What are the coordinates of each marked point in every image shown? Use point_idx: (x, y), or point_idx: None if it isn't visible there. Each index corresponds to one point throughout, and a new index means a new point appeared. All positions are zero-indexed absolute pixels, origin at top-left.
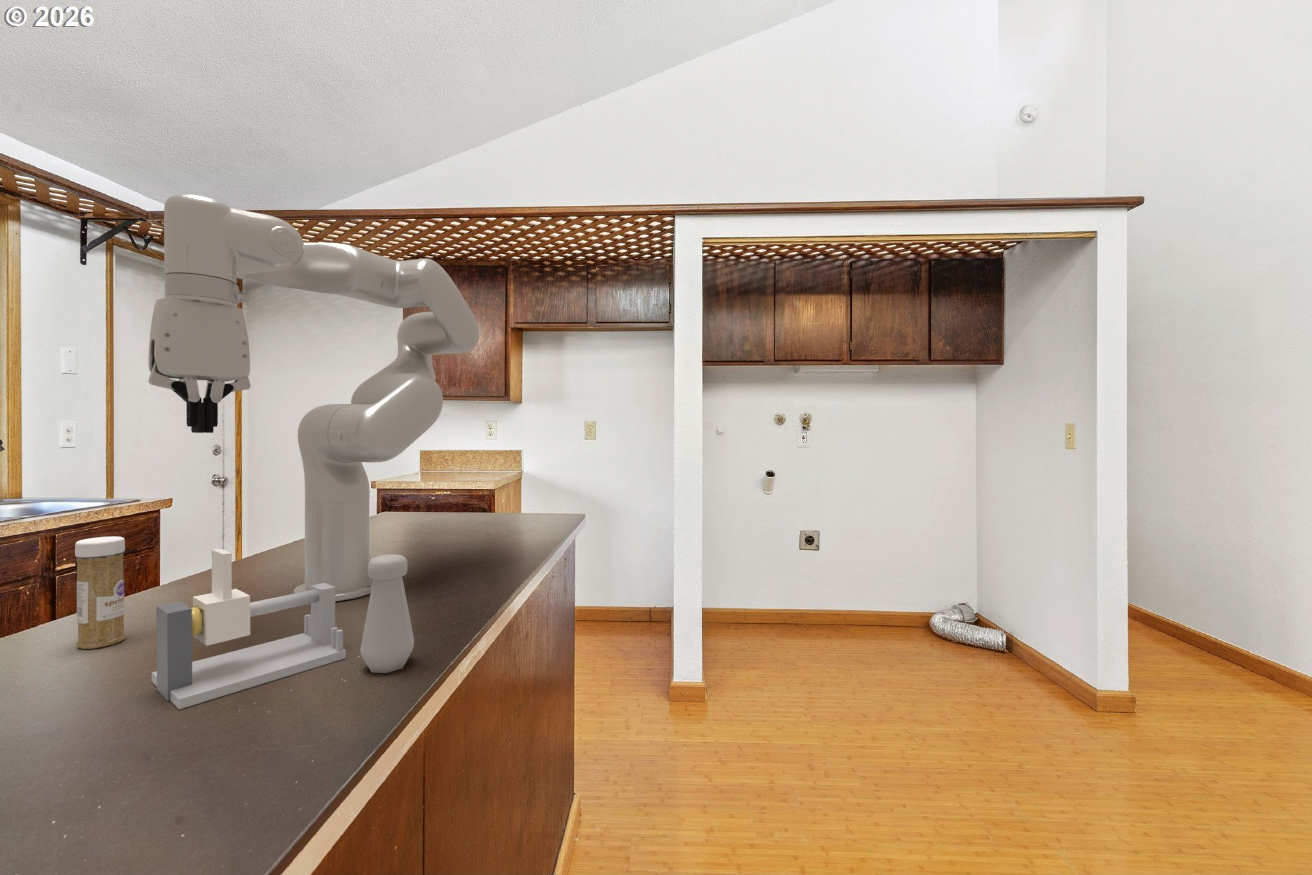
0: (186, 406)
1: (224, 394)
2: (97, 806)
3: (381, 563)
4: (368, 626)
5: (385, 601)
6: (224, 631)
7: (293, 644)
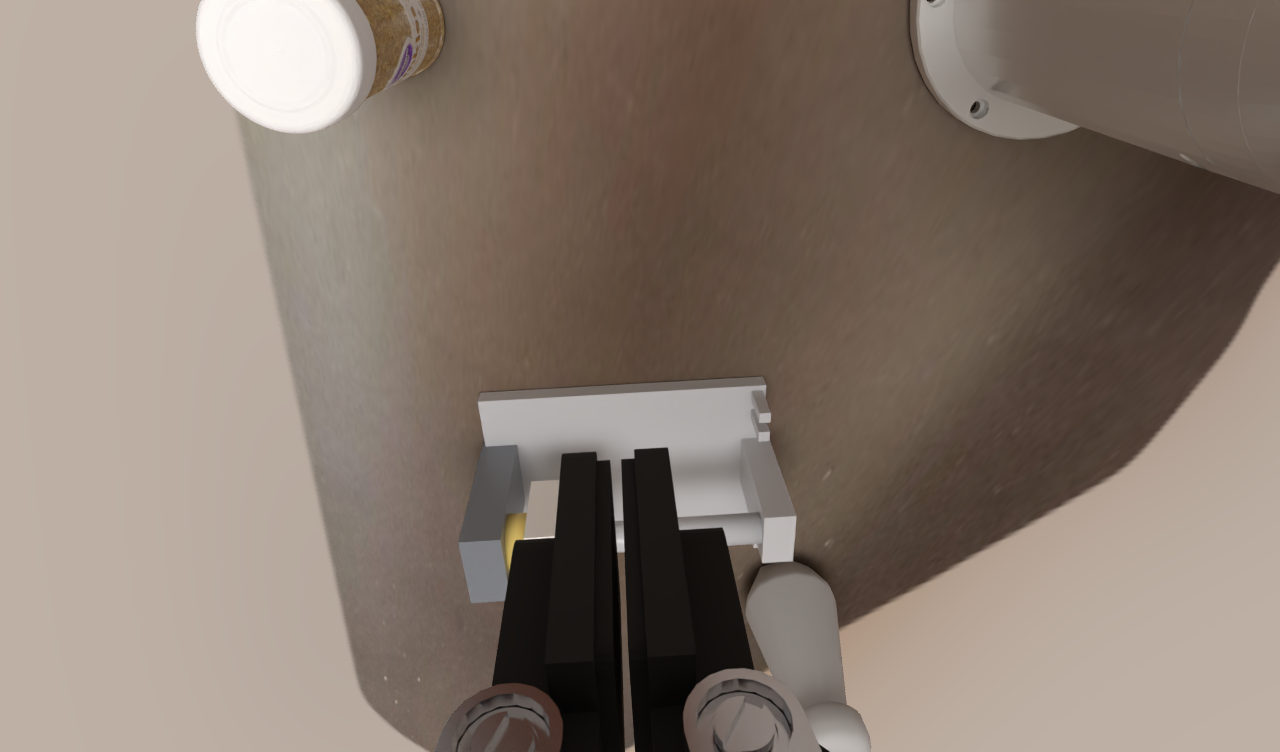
0: (493, 678)
1: None
2: (417, 678)
3: None
4: (762, 649)
5: None
6: None
7: (709, 435)
